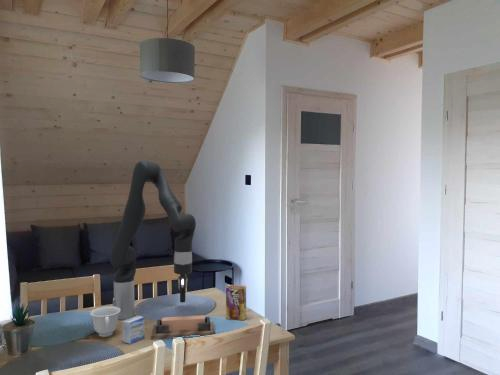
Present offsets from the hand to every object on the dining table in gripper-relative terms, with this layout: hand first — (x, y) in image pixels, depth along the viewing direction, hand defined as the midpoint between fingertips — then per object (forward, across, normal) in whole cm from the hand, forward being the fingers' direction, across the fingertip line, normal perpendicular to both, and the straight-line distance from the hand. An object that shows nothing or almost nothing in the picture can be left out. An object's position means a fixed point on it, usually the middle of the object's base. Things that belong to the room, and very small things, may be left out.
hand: (182, 301), depth 174 cm
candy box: (+13, -13, +24) cm, 31 cm away
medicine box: (+14, +5, -19) cm, 24 cm away
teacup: (+14, -1, -32) cm, 34 cm away
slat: (+12, 0, 0) cm, 12 cm away
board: (+13, 0, 0) cm, 13 cm away
